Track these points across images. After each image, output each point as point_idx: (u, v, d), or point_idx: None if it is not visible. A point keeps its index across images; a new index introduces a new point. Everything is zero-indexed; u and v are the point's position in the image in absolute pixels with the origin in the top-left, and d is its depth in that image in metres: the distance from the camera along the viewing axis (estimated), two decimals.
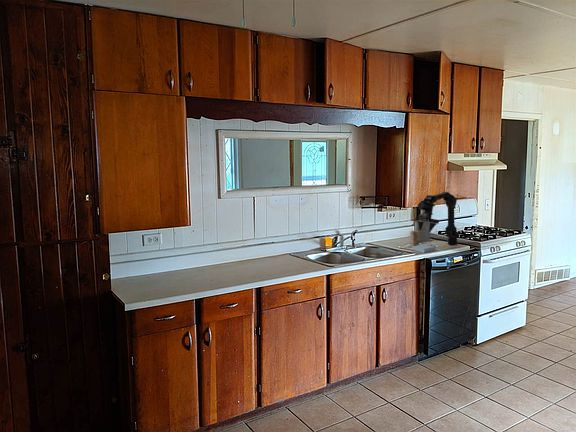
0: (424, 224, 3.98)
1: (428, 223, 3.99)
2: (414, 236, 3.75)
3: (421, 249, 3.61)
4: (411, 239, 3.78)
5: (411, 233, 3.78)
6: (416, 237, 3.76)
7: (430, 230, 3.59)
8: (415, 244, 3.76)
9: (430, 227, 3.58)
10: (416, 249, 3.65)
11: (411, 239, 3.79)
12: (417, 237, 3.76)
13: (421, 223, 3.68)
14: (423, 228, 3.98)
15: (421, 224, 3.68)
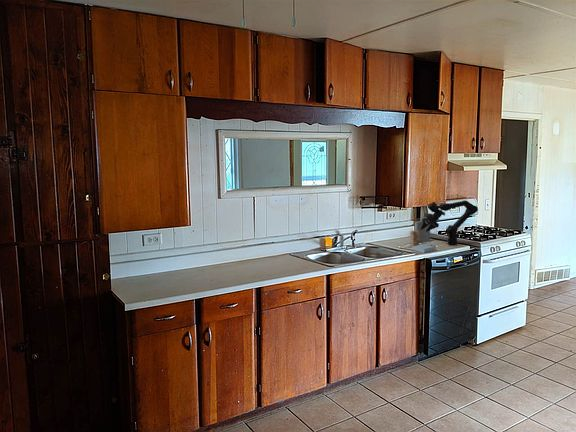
0: None
1: None
2: (414, 236, 3.75)
3: (421, 249, 3.61)
4: (411, 239, 3.78)
5: (411, 233, 3.78)
6: (416, 237, 3.76)
7: (427, 230, 3.73)
8: (415, 244, 3.76)
9: (428, 227, 3.73)
10: (416, 249, 3.65)
11: (411, 239, 3.79)
12: (417, 237, 3.76)
13: (425, 224, 3.83)
14: None
15: (425, 225, 3.83)
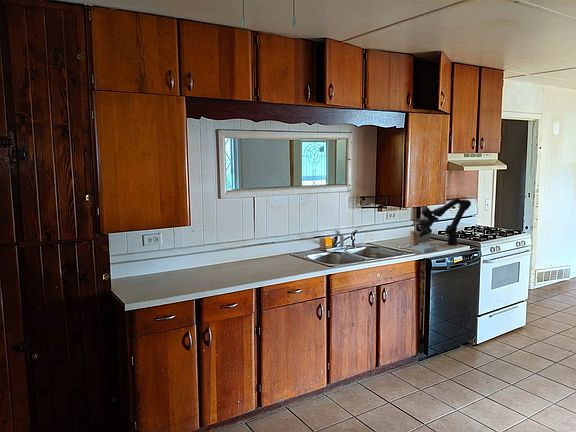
0: None
1: None
2: (414, 236, 3.75)
3: (421, 249, 3.61)
4: (411, 239, 3.78)
5: (411, 233, 3.78)
6: (416, 237, 3.76)
7: (420, 235, 3.73)
8: (415, 244, 3.76)
9: (421, 232, 3.73)
10: (416, 249, 3.65)
11: (411, 239, 3.79)
12: (417, 237, 3.76)
13: (418, 230, 3.83)
14: None
15: (418, 230, 3.83)
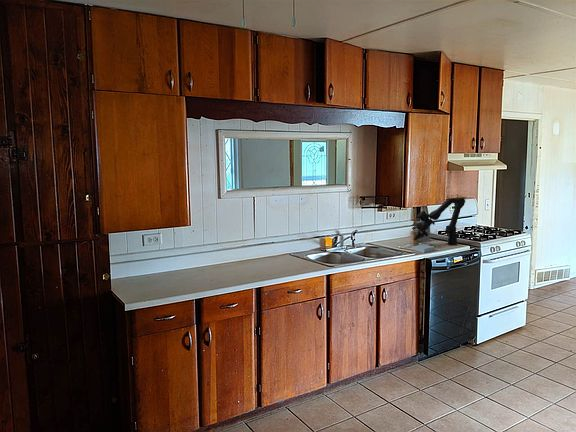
0: None
1: None
2: (414, 236, 3.75)
3: (421, 249, 3.61)
4: (411, 239, 3.78)
5: (411, 233, 3.77)
6: None
7: (415, 238, 3.75)
8: (415, 244, 3.76)
9: None
10: (416, 249, 3.65)
11: (411, 239, 3.79)
12: None
13: None
14: None
15: None
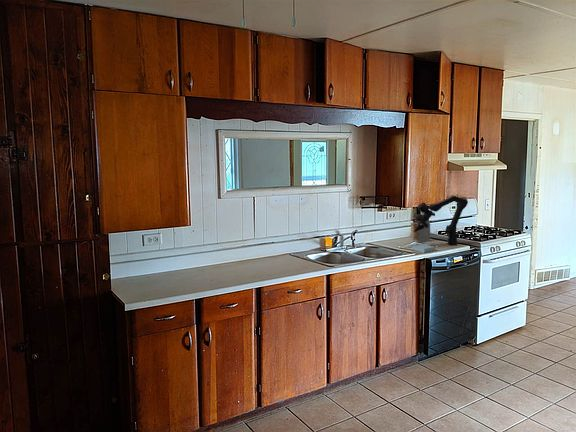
0: None
1: (428, 223, 3.99)
2: (414, 228, 3.74)
3: (421, 249, 3.61)
4: (411, 231, 3.77)
5: (411, 225, 3.76)
6: None
7: (416, 230, 3.73)
8: (415, 236, 3.75)
9: (417, 227, 3.73)
10: (416, 249, 3.65)
11: (411, 231, 3.78)
12: None
13: None
14: None
15: None
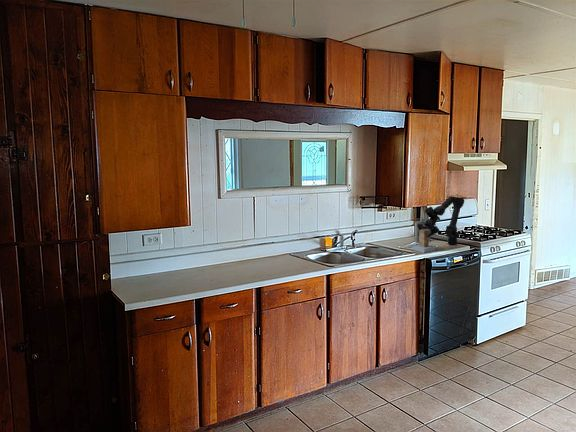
0: None
1: None
2: (424, 235, 3.62)
3: (421, 249, 3.61)
4: (421, 238, 3.64)
5: (421, 232, 3.64)
6: (426, 236, 3.63)
7: (428, 236, 3.61)
8: (425, 243, 3.64)
9: (429, 233, 3.60)
10: (416, 249, 3.65)
11: (420, 239, 3.65)
12: None
13: None
14: None
15: None
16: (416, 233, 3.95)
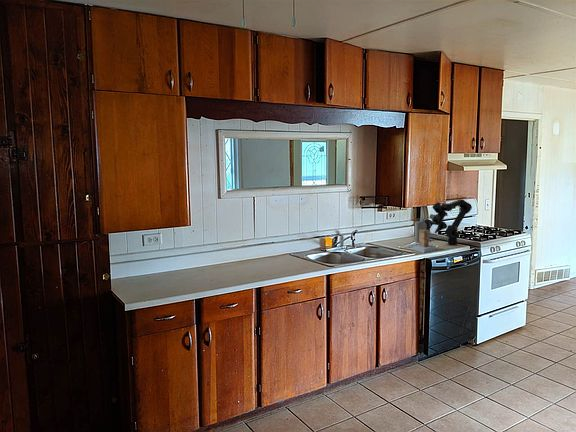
0: (424, 224, 3.98)
1: None
2: (424, 235, 3.62)
3: (421, 249, 3.61)
4: (421, 238, 3.64)
5: (421, 232, 3.64)
6: (426, 236, 3.63)
7: (436, 231, 3.65)
8: (425, 243, 3.64)
9: (437, 228, 3.65)
10: (416, 249, 3.65)
11: (420, 239, 3.65)
12: (427, 236, 3.64)
13: (429, 226, 3.75)
14: (423, 228, 3.98)
15: (429, 227, 3.74)
16: (416, 233, 3.95)
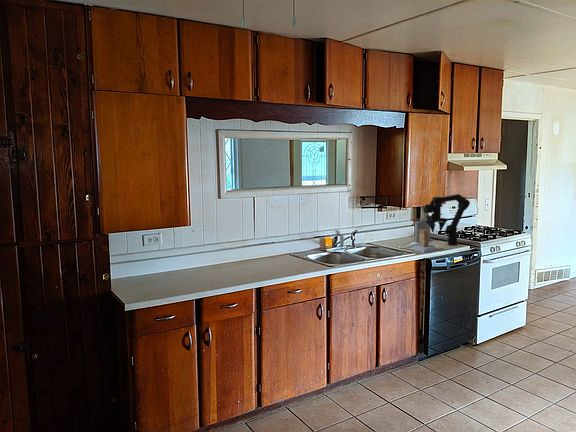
0: (424, 224, 3.98)
1: None
2: (424, 235, 3.62)
3: (421, 249, 3.61)
4: (421, 238, 3.64)
5: (421, 232, 3.64)
6: (426, 236, 3.63)
7: (432, 230, 3.77)
8: (425, 243, 3.64)
9: None
10: (416, 249, 3.65)
11: (420, 239, 3.65)
12: (427, 236, 3.64)
13: (441, 224, 3.81)
14: (423, 228, 3.98)
15: (441, 225, 3.81)
16: (416, 233, 3.95)
